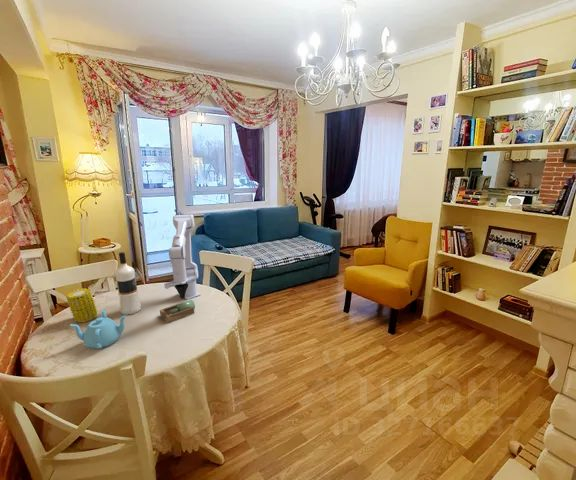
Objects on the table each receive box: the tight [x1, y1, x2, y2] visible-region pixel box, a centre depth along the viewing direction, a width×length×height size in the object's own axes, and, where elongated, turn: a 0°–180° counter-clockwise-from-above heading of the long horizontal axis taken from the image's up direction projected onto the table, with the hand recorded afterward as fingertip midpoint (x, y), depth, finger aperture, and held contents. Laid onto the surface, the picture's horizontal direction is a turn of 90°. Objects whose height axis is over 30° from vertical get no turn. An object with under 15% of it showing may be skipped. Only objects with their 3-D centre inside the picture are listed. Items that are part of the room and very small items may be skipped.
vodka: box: [114, 251, 142, 316], centre depth 144 cm, size 9×9×30 cm
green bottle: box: [169, 299, 196, 315], centre depth 144 cm, size 5×5×11 cm
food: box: [65, 287, 98, 323], centre depth 139 cm, size 15×12×10 cm
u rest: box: [159, 301, 195, 324], centre depth 142 cm, size 9×13×3 cm
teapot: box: [69, 308, 128, 350], centre depth 121 cm, size 15×15×10 cm
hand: (182, 298), depth 143 cm, fingers closed
